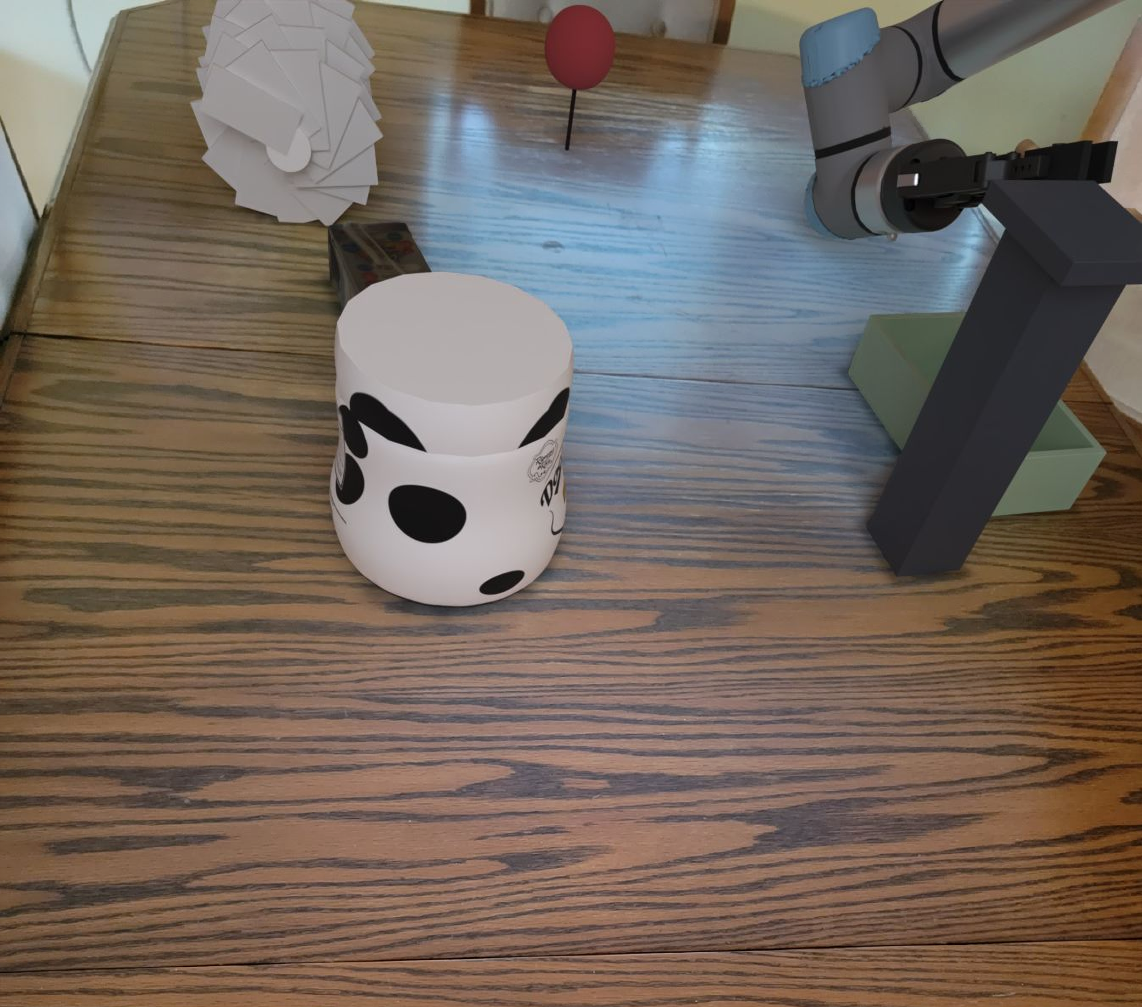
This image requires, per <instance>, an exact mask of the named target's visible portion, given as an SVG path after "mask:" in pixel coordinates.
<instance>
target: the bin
mask: <svg viewBox="0 0 1142 1007" xmlns="http://www.w3.org/2000/svg"><path fill="white" fill-rule="evenodd" d="M966 312H967V311H950V312H949V311H948V312H947V311H945V312H915V313H914V312H913V313H879V314H877V313H876V314H869V317H868V319H867V322H866V324H865V327H864V330H863V333H862V334H861V338H860V339H859V343H858V346H857V348H856V351H855V352H854V356H853V357H852V361H851V363H850V366H849V369H848V372H847V375H848V376H849V377H850V379H851V380H852V381H853V383H854V384H855V386H856V387H857V389H858V390H859V391H860V394H861V395H862V396H863V397H864V399H865V401H866V402H867V403H868V405H869V406H870V408H871V410H872V411H873V412H874V413H875V415H876V417H877V418H878V419H879V421H880V423H881V424H882V425H883V427H884V428H885V430H886V431H887V432H888V434H889V436H890V437H891V439H892V440H893V441H894V442H895V444H896V446H897V447H898V448H899V450H900V451H901V452H902V450H903V448H904V446H905V443H906V441H907V439H908V437H909V435H910V433H911V430H912V428H913V426H914V424H915V422H916V420H917V418H918V415H919V413H920V411H921V409H922V407H923V405H924V402H925V400H926V398H927V396H928V394H929V392H930V390H931V387H932V385H933V383H934V381H935V379H936V377H937V375H938V372H939V370H940V368H941V366H942V364H943V362H944V359H945V357H946V355H947V353H948V351H949V349H950V347H951V344H952V342H953V340H954V338H955V336H956V334H957V331H958V329H959V327H960V325H961V323H962V321H963V319H964V316H965V314H966ZM1106 455H1107V451H1106V450H1105V449H1104V447H1103V446H1102V445H1101V444H1100V442H1098V440H1097V439H1096V438H1095V437H1094V436H1093V434H1092V433H1091V432H1090V431H1089V430H1088V428H1086V426H1085V425H1084V424H1083V423H1082V421H1080V419H1079V418H1078V417H1077V416H1076V414H1074V413H1073V411H1072V410H1071V409H1070V408H1069V407H1068V405H1067V404H1066V403H1065V402H1064V401H1063V400H1062V399H1061V398H1060V399H1059V401H1058V403H1057V404H1056V406H1055V408H1054V409H1053V411H1052V413H1051V415H1050V416H1049V418H1048V420H1047V421H1046V423H1045V425H1044V427H1043V428H1042V430H1041V432H1040V433H1039V435H1038V437H1037V439H1036V440H1035V442H1034V444H1033V445H1032V447H1031V449H1030V451H1029V452H1028V454H1027V456H1026V457H1025V459H1024V461H1023V463H1022V464H1021V466H1020V468H1019V469H1018V471H1017V473H1016V475H1015V476H1014V478H1013V480H1012V481H1011V483H1010V485H1009V487H1008V488H1007V490H1006V492H1005V493H1004V495H1003V497H1002V499H1001V500H1000V502H999V504H998V505H997V507H996V509H995V510H994V512H993V514H992V516H991V517H997V516H1009V515H1019V514H1020V515H1021V514H1029V513H1030V514H1031V513H1041V512H1052V511H1062V510H1063V511H1065V510H1070V509H1071V508H1072V507H1073V505H1074V503H1075V502H1076V500H1078V497H1079V495H1080V494H1081V493H1082V491H1083V489H1084V488H1085V486H1086V485H1087V484H1088V482H1089V481H1090V479H1091V478H1092V476H1093V474H1094V473H1095V472H1096V470H1097V468H1098V467H1099V465H1100V464H1101V462H1102V461H1103V459H1104V458H1105V457H1106Z"/></svg>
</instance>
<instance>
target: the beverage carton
mask: <svg viewBox="0 0 1142 1007" xmlns="http://www.w3.org/2000/svg"><path fill="white" fill-rule="evenodd" d="M327 251H328V269H329V282H330V284H331V285H332V288H333V291H334V293H335V295H336V297H337V299H338V301H339V305H340V307H341V310H342V311H343V310H344V308H345V306H346V304H347V303H348V301H349V300H351V299H352V298H353V297H355V296H356V295H358V294H359V293H360V292H362V291H363V290H365V289H366V288H368V287H369V286H370V285H372V284H375V283H378V282H382V281H385V280H388V279H391V278H394V277H397V276H401V275H404V274H417V273H429V272H432V270H431V268H430V266H429V264H428V262H427V260H426V259H425V257H424V255H423V253H422V251H421V249H420V248H419V245H418V244H417V242H416V240H415V239H414V237H413V234H412V232H411V231H410V228H409V226H408V224H407V223H406V222H399V221H397V222H396V221H392V222H378V223H377V222H371V223H370V222H368V223H367V222H365V223H364V222H363V223H360V222H359V221H357V220H347V221H346V222H344V223H340V224H336V223H335V224H332V225H329V226H327Z"/></svg>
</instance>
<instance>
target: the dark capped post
mask: <svg viewBox="0 0 1142 1007" xmlns="http://www.w3.org/2000/svg"><path fill="white" fill-rule="evenodd" d="M981 205H982V206H983V207H984V208H985V209H986V210H987V211H988V212H989V213H990V214H991V215H992V216H993V217H994V218H995V219H996V220H997V221H998V222H999V223H1000V224H1001V225H1002V227H1004V231H1003V232H1002V234H1001V237H1000V238H999V241H998V243H997V245H996V248H995V250H994V252H993V254H992V256H991V259H990V261H989V263H988V264H987V267H986V268H985V271H984V274H983V276H982V278H981V280H980V282H979V284H978V287H977V288H976V291H975V293H974V295H973V297H972V299H971V302H970V303H969V306H968V308H967V309H966V311H965V312H966V314H965V316H964V319H963V321H962V323H961V325H960V327H959V329H958V331H957V334H956V336H955V338H954V340H953V342H952V344H951V347H950V349H949V351H948V353H947V355H946V357H945V359H944V362H943V364H942V366H941V368H940V370H939V372H938V375H937V377H936V379H935V381H934V383H933V385H932V387H931V390H930V392H929V394H928V396H927V398H926V400H925V402H924V405H923V407H922V409H921V411H920V413H919V415H918V418H917V420H916V422H915V424H914V426H913V428H912V430H911V433H910V435H909V437H908V439H907V441H906V443H905V446H904V448H903V450H902V451H901V452H900V454H899V455H898V456H899V457H898V458H897V461H896V463H895V465H894V467H893V469H892V471H891V474H890V476H889V478H888V480H887V482H886V484H885V486H884V489H883V491H882V493H881V495H880V498H879V500H878V502H877V504H876V506H875V508H874V510H873V512H872V515H871V517H870V519H869V521H868V523H867V525H866V528H865V529H866V530H867V532H868V533H869V535H870V536H871V538H872V540H873V541H874V543H875V545H876V547H877V548H878V550H879V551H880V553H881V554H882V556H883V558H884V560H885V561H886V562H887V565H888V566H889V567H890V570H891V571H892V572H893V575H894V576H895V577H897V578H900V577H910V576H920V575H929V574H939V573H940V574H941V573H949V572H958V571H961V569H962V567H963V565H964V564H965V563H966V560H967V559H968V557H969V555H970V553H971V552H972V550H973V548H974V546H975V545H976V543H977V541H978V540H979V538H980V536H981V534H982V532H983V531H984V530H985V527H986V526H987V524H988V522H989V521H990V519H991V517H993V516H992V514H993V512H994V510H995V509H996V507H997V505H998V504H999V502H1000V500H1001V499H1002V497H1003V495H1004V493H1005V492H1006V490H1007V488H1008V487H1009V485H1010V483H1011V481H1012V480H1013V478H1014V476H1015V475H1016V473H1017V471H1018V469H1019V468H1020V466H1021V464H1022V463H1023V461H1024V459H1025V457H1026V456H1027V454H1028V452H1029V451H1030V449H1031V447H1032V445H1033V444H1034V442H1035V440H1036V439H1037V437H1038V435H1039V433H1040V432H1041V430H1042V428H1043V427H1044V425H1045V423H1046V421H1047V420H1048V418H1049V416H1050V415H1051V413H1052V411H1053V409H1054V408H1055V406H1056V404H1057V403H1058V401H1059V399H1061V398H1062V396H1063V394H1064V392H1065V391H1066V389H1067V388H1068V386H1069V384H1070V382H1071V380H1072V379H1073V378H1074V375H1075V373H1076V372H1077V370H1078V368H1079V367H1080V365H1081V363H1082V362H1083V360H1084V358H1085V356H1086V355H1087V354H1088V352H1089V349H1090V348H1091V346H1092V345H1093V343H1094V341H1095V340H1096V338H1097V336H1098V334H1099V332H1100V331H1101V329H1102V327H1103V325H1104V324H1105V323H1106V320H1107V319H1108V317H1109V316H1110V314H1111V312H1112V310H1113V308H1114V307H1115V305H1116V303H1117V301H1118V300H1119V298H1120V296H1121V295H1122V294H1123V291H1125V288H1126V286H1132V285H1133V286H1135V285H1136V286H1137V285H1138V286H1139V285H1142V223H1141V222H1140V221H1138V220H1137V219H1136V218H1135V217H1134V216H1133V215H1132V214H1131V213H1130V212H1128V211H1127V210H1126V209H1125V208H1126V207H1125V206H1123V204H1121V203H1120V202H1119V201H1118V200H1116V199H1115V198H1114V197H1113V196H1112V195H1111V194H1110V193H1109V192H1108V191H1106V189H1104V188H1103V187H1102V186H1101V184H1098V183H1096V182H1095V181H1067V180H991V183H990V185H989V187H988V190H987V192H986V194H985V196H984V199H983V201H982V204H981Z"/></svg>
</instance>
